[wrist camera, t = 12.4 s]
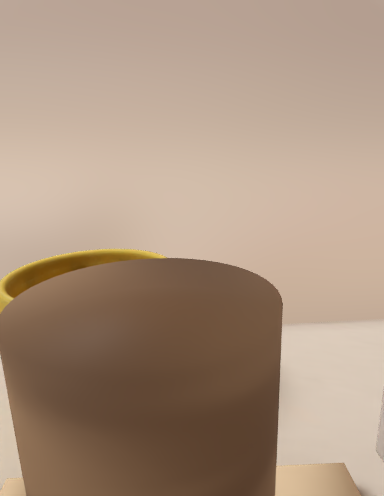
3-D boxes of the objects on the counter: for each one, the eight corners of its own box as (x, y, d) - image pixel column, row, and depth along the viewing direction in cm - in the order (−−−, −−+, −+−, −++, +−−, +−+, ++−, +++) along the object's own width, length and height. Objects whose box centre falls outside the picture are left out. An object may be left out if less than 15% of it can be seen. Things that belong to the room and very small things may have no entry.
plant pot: (42, 510, 17) (10, 324, 15) (9, 396, 25) (-15, 265, 23) (212, 418, 23) (211, 273, 20) (140, 350, 31) (132, 241, 28)
